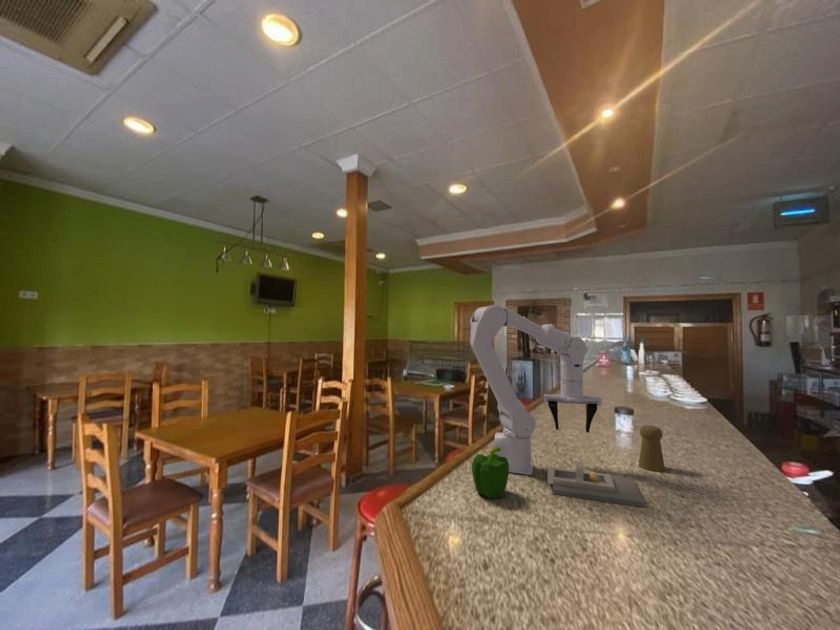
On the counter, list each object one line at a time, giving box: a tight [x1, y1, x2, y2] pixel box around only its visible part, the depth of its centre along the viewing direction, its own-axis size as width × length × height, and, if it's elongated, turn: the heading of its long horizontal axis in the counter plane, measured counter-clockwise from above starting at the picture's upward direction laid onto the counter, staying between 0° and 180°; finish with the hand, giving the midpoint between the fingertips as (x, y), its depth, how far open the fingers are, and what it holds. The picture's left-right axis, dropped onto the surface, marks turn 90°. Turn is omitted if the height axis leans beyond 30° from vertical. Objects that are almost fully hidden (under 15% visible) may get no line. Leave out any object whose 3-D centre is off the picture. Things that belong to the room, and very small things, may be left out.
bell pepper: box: [471, 447, 510, 499], centre depth 82 cm, size 8×8×10 cm
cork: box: [638, 425, 666, 473], centre depth 100 cm, size 6×6×11 cm
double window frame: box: [547, 460, 615, 493], centre depth 87 cm, size 14×8×4 cm, turn 70°
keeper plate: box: [552, 471, 646, 509], centre depth 86 cm, size 18×14×3 cm
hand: (572, 430), depth 101 cm, fingers open, 7 cm apart
